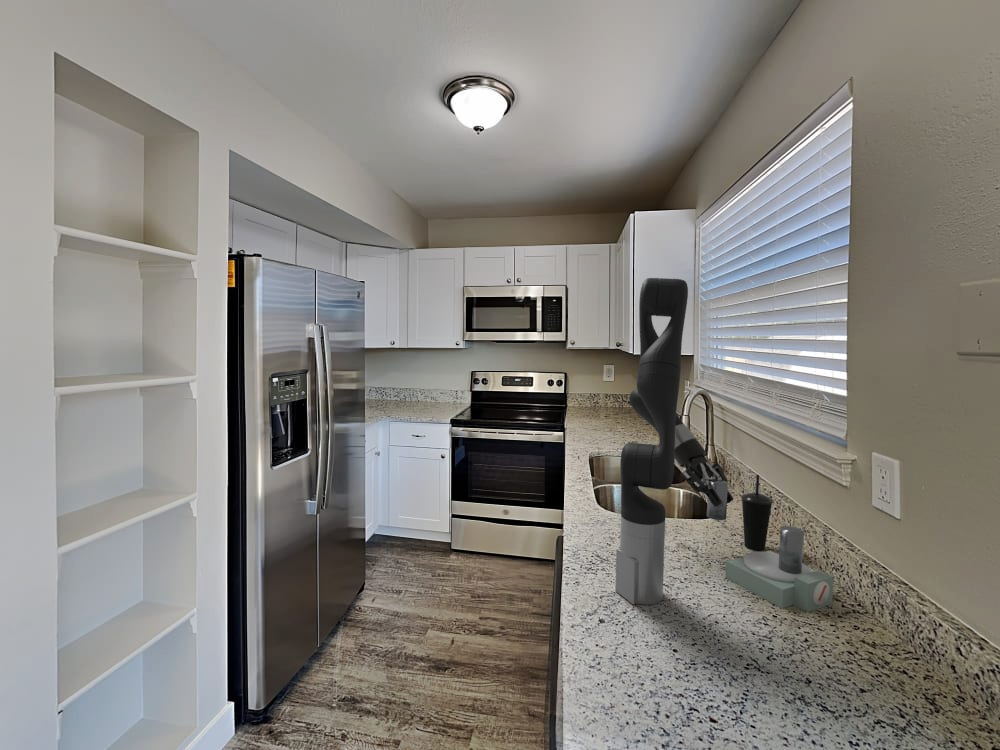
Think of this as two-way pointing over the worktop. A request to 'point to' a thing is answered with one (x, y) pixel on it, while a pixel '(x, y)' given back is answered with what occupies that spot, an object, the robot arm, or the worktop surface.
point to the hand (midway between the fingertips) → (724, 502)
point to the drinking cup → (756, 518)
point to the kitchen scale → (781, 581)
